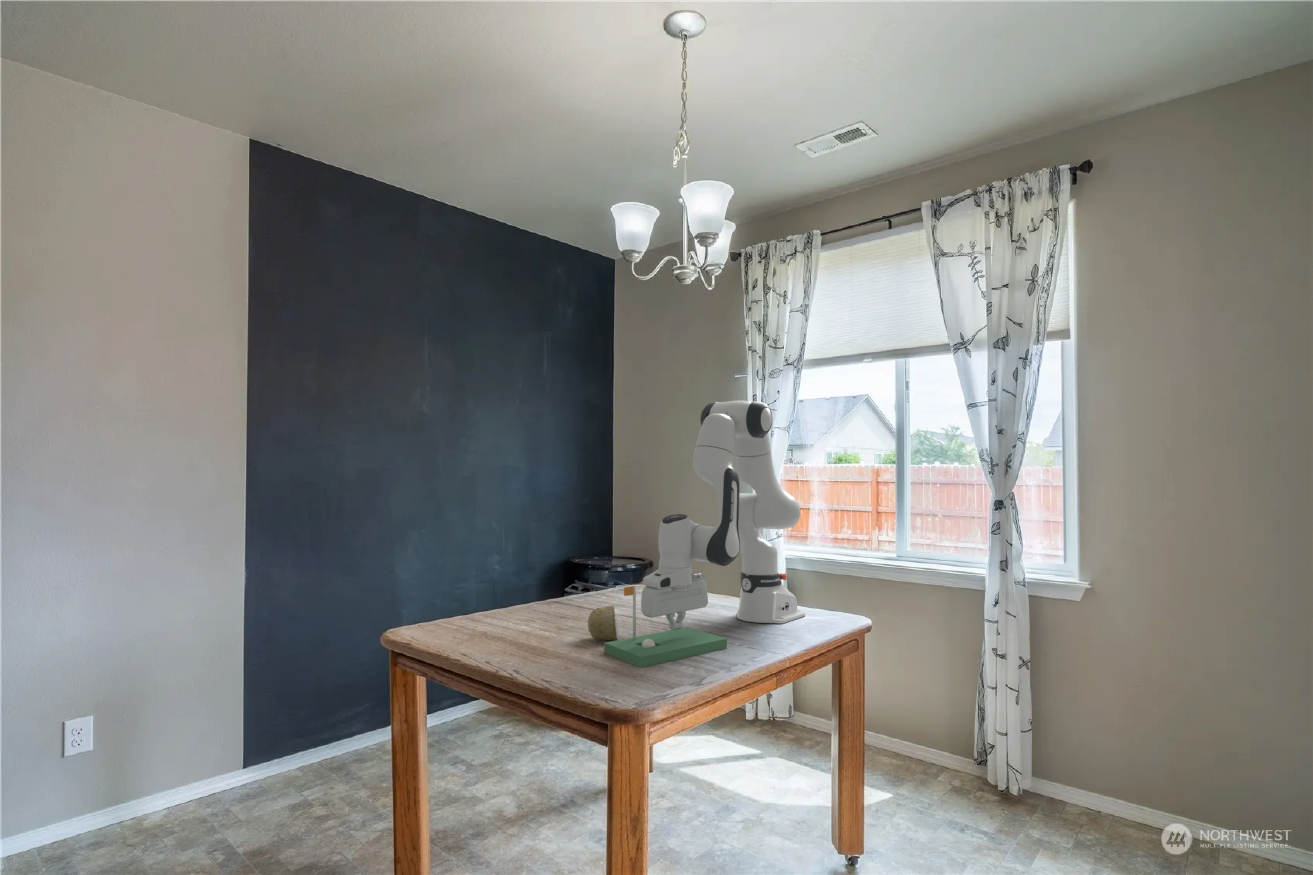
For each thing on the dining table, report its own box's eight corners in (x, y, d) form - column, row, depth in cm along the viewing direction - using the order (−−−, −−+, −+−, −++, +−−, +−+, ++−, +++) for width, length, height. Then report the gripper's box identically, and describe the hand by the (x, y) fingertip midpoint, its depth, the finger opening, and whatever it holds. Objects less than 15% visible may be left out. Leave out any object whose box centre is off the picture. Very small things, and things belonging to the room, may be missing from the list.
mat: (687, 635, 194) (687, 576, 195) (726, 648, 182) (726, 585, 182) (604, 652, 177) (604, 588, 178) (641, 667, 165) (641, 597, 165)
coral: (628, 618, 185) (594, 603, 185) (613, 652, 186) (579, 637, 186) (630, 608, 195) (598, 594, 195) (616, 640, 196) (584, 626, 196)
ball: (652, 644, 179) (645, 634, 178) (660, 647, 176) (653, 637, 175) (643, 654, 177) (636, 645, 176) (651, 658, 174) (644, 648, 173)
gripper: (697, 570, 191) (698, 620, 191) (637, 579, 179) (637, 632, 179) (712, 573, 186) (713, 625, 186) (652, 583, 174) (652, 638, 174)
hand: (675, 629), depth 182 cm, fingers closed
